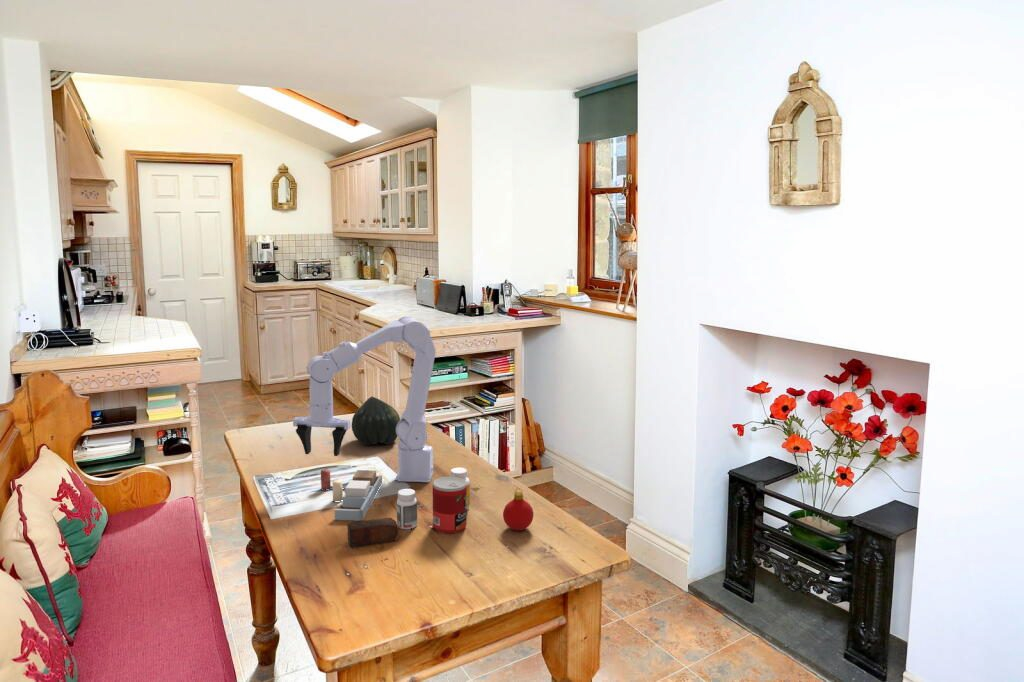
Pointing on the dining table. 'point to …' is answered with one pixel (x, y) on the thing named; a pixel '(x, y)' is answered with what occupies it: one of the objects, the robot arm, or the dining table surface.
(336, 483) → the white block with peg
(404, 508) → the pill bottle
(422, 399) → the robot arm
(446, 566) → the dining table surface
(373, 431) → the squash
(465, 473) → the supplement bottle
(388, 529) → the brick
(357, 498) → the lane rack
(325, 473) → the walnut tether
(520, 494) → the christmas ornament
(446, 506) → the canned food
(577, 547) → the dining table surface
